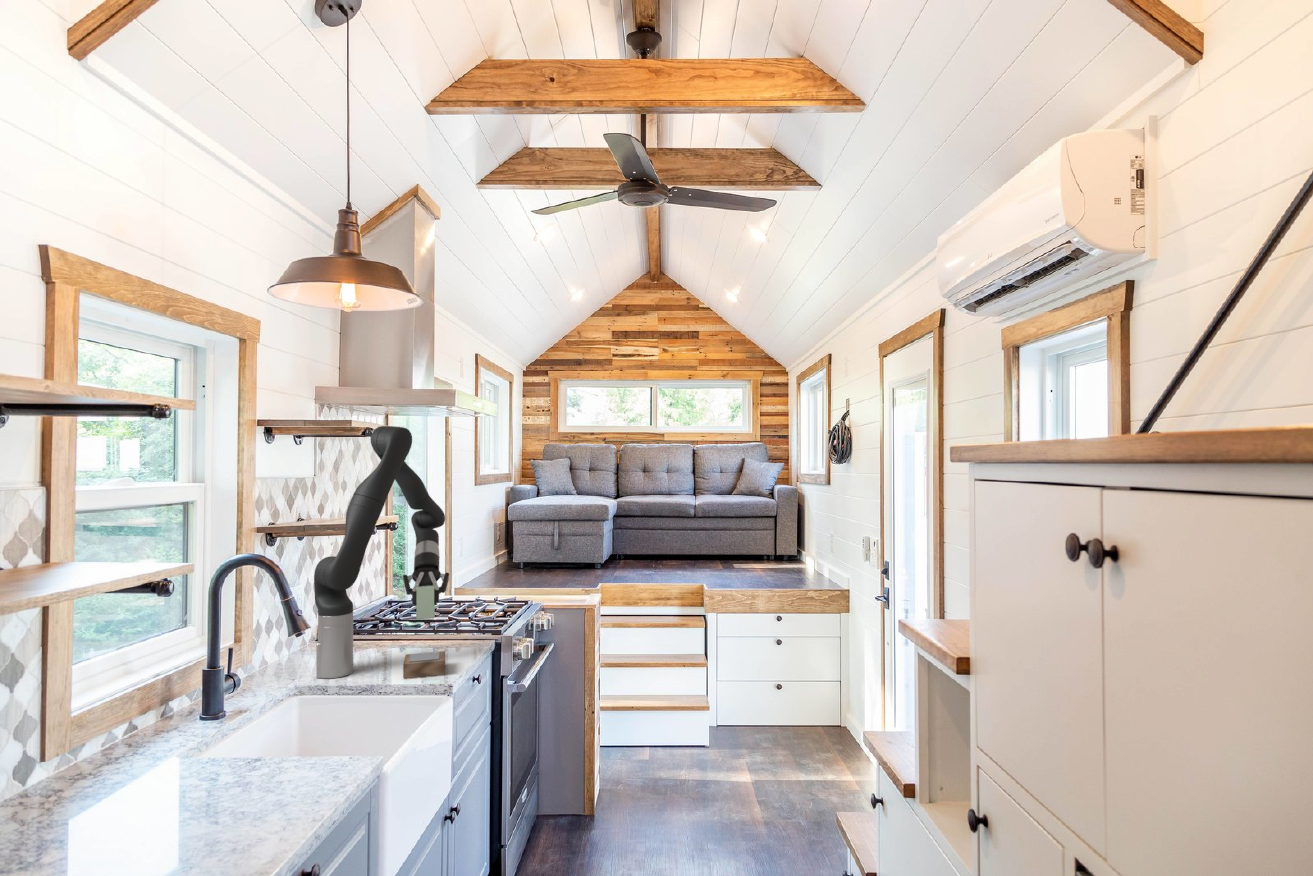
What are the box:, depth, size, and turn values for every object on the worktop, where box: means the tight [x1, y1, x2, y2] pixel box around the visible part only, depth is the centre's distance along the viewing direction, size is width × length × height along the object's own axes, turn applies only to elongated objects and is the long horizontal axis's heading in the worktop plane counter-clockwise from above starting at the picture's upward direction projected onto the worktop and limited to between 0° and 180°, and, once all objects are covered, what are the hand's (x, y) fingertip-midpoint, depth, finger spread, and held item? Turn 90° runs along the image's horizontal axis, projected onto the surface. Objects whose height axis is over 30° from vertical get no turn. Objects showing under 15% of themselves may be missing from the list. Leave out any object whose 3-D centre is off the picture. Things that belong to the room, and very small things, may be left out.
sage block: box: [416, 586, 436, 620], centre depth 216 cm, size 5×5×9 cm
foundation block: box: [402, 650, 446, 679], centre depth 204 cm, size 11×11×4 cm
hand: (425, 603), depth 214 cm, fingers closed on sage block, 5 cm apart
